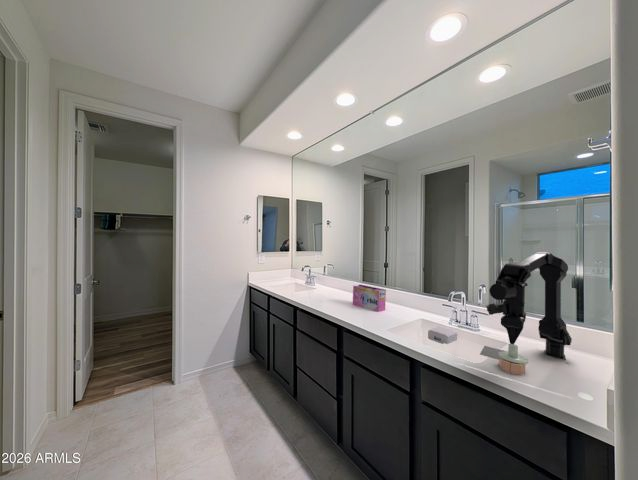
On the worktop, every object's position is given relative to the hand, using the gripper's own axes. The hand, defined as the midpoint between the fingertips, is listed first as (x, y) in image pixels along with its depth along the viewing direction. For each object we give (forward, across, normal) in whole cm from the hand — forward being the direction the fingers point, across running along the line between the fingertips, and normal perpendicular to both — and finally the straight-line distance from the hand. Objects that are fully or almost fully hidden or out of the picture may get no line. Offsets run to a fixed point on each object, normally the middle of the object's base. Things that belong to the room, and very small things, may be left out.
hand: (513, 340), depth 95 cm
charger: (+11, -13, -26) cm, 31 cm away
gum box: (+10, -36, -81) cm, 90 cm away
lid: (+6, +1, 0) cm, 6 cm away
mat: (+10, -9, -5) cm, 15 cm away
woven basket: (+10, +3, 0) cm, 11 cm away
